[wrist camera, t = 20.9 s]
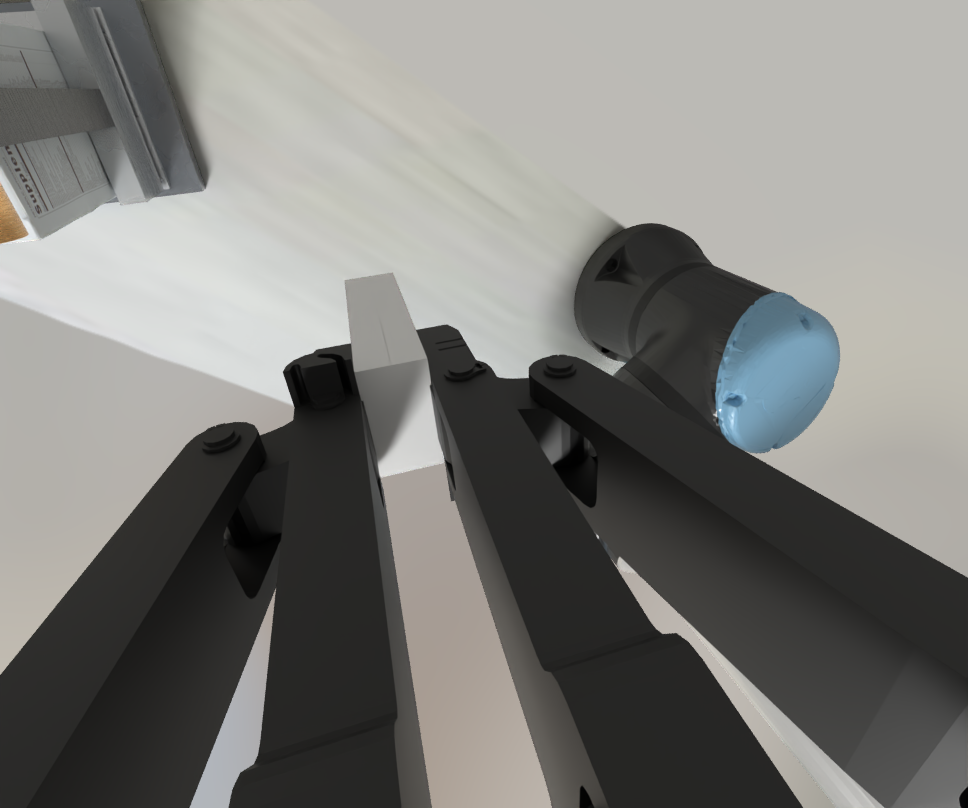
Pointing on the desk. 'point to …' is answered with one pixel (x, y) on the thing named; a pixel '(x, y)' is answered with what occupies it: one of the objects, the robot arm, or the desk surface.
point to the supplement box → (46, 147)
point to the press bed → (137, 87)
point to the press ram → (78, 109)
